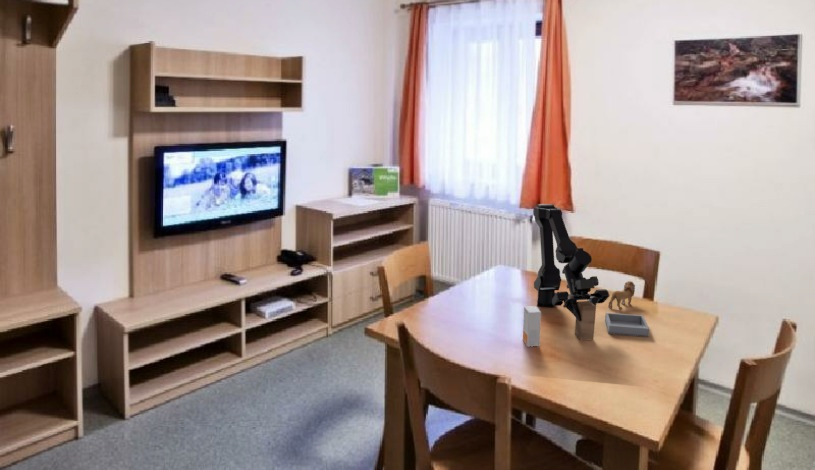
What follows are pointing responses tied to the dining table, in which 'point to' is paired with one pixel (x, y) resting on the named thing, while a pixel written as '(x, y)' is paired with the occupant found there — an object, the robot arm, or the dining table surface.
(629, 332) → the tray
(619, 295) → the lion figurine
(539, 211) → the robot arm
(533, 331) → the skincare box
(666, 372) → the dining table surface
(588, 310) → the walnut block
